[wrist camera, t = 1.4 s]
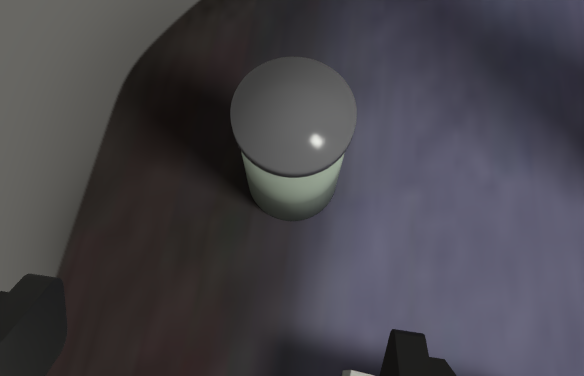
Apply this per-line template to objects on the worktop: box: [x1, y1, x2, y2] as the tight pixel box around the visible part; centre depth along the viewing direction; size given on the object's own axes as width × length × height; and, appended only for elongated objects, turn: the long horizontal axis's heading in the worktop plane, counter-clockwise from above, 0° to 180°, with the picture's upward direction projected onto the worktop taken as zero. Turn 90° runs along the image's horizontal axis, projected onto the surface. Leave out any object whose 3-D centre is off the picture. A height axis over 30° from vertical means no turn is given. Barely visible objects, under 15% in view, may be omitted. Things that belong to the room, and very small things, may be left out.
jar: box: [230, 57, 357, 221], centre depth 32 cm, size 6×6×10 cm
